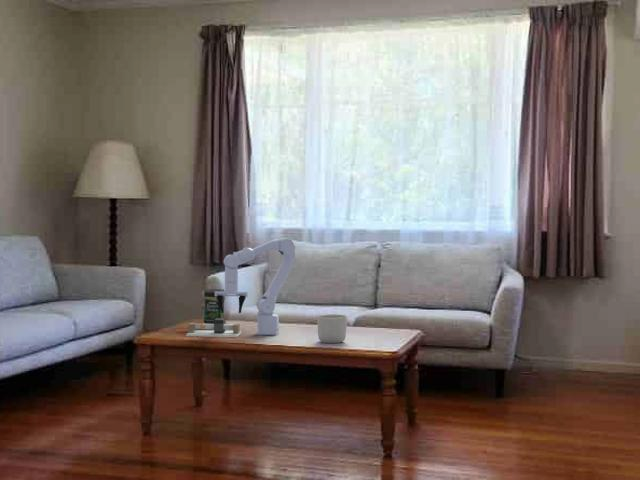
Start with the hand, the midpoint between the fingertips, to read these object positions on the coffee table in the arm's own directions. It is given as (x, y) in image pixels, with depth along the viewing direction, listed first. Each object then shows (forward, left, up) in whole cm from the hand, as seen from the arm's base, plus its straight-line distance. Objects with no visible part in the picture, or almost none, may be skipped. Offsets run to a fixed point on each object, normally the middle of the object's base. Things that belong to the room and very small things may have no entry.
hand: (231, 312), depth 352 cm
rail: (+8, 0, -10) cm, 12 cm away
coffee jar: (+12, -19, -10) cm, 24 cm away
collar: (+5, 0, -9) cm, 10 cm away
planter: (-45, +13, -10) cm, 48 cm away
